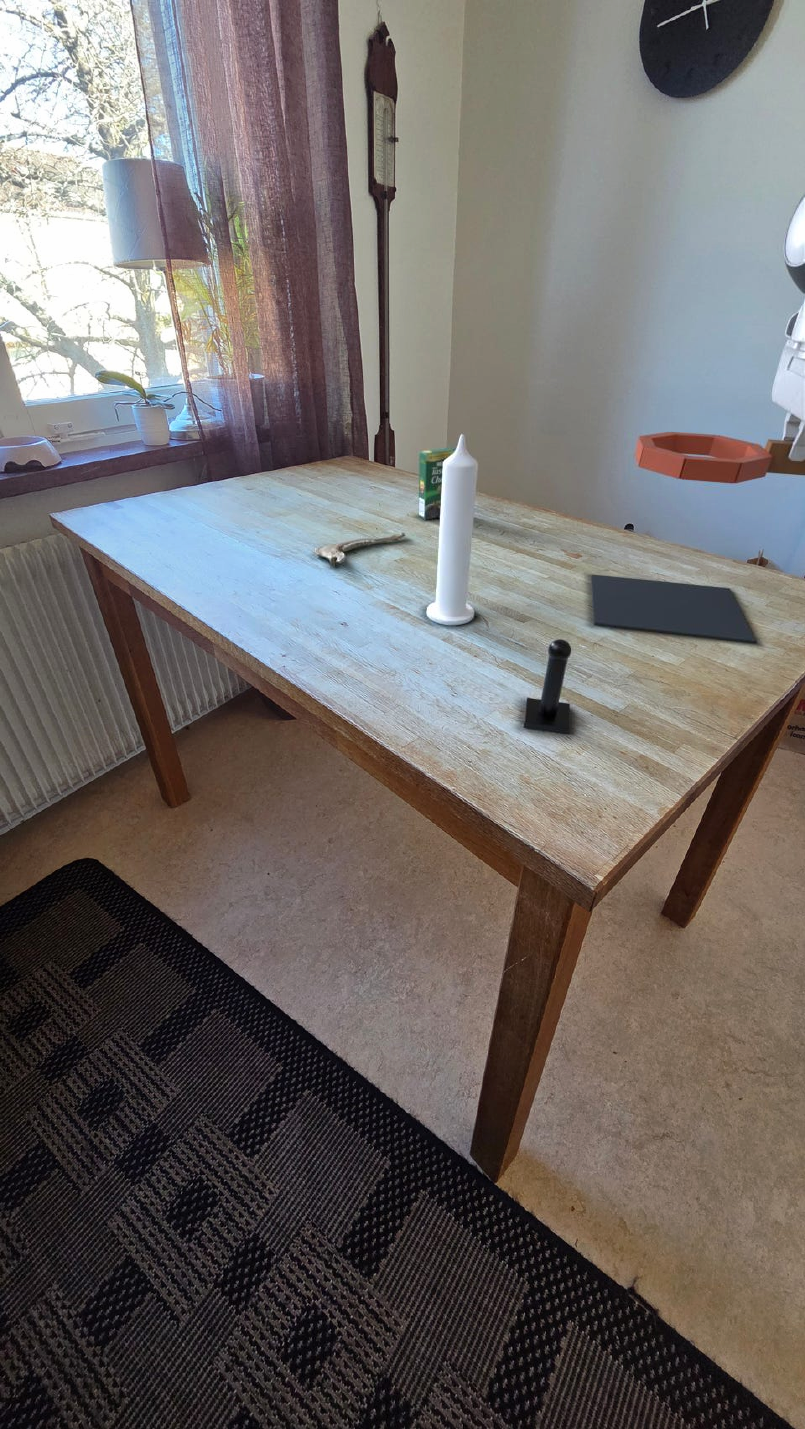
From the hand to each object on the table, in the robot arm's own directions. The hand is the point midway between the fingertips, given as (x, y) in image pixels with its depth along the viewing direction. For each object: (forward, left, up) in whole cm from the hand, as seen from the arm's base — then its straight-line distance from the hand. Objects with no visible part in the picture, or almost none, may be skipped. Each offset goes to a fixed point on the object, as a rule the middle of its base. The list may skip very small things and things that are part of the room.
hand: (790, 456), depth 75 cm
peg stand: (+25, +31, -23) cm, 46 cm away
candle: (+40, +8, -24) cm, 47 cm away
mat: (+8, -3, -23) cm, 25 cm away
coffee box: (+50, -36, -24) cm, 66 cm away
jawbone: (+58, -12, -24) cm, 64 cm away
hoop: (+8, 0, -2) cm, 8 cm away
